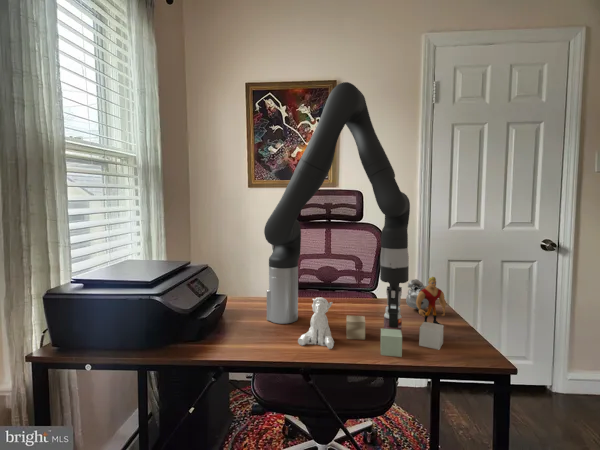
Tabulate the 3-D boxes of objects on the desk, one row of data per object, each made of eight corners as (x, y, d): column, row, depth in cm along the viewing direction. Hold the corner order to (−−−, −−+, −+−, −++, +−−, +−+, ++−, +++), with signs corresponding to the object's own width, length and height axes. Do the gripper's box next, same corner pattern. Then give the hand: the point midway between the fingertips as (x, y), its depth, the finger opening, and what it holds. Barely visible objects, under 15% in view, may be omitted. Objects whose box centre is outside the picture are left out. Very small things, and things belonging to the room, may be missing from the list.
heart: (442, 315, 115) (440, 278, 117) (414, 316, 114) (412, 279, 115) (426, 311, 125) (425, 277, 127) (401, 312, 124) (400, 278, 125)
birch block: (346, 339, 97) (346, 321, 97) (346, 332, 102) (346, 315, 102) (365, 339, 96) (365, 322, 96) (363, 333, 101) (364, 316, 101)
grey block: (419, 345, 93) (419, 327, 92) (423, 339, 97) (424, 321, 96) (439, 350, 90) (439, 330, 90) (443, 343, 94) (443, 325, 94)
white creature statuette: (297, 345, 92) (297, 300, 91) (305, 333, 101) (305, 292, 100) (332, 349, 90) (333, 303, 89) (338, 337, 98) (338, 294, 97)
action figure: (419, 327, 106) (420, 277, 105) (414, 323, 110) (415, 275, 109) (449, 325, 107) (450, 277, 106) (442, 321, 111) (444, 274, 110)
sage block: (380, 355, 87) (381, 335, 86) (380, 347, 92) (380, 328, 91) (401, 357, 86) (402, 337, 85) (400, 348, 91) (400, 329, 90)
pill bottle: (402, 341, 95) (402, 310, 95) (384, 339, 96) (384, 309, 96) (400, 334, 100) (401, 305, 99) (383, 333, 101) (383, 304, 100)
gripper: (382, 259, 105) (381, 313, 106) (378, 267, 91) (378, 329, 92) (408, 260, 102) (408, 315, 103) (408, 269, 89) (408, 332, 90)
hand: (394, 321), depth 98 cm, fingers open, 8 cm apart
